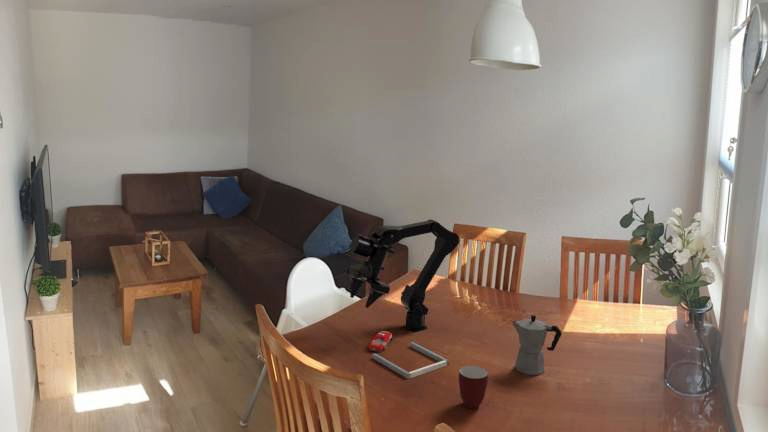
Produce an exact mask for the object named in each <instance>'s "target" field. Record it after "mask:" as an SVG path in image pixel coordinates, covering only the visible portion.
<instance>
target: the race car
mask: <svg viewBox="0 0 768 432" xmlns="http://www.w3.org/2000/svg"><path fill="white" fill-rule="evenodd" d="M392 341H393V334H392V333H391V331H386V330H383V331H382V330H381V331H378V332H377V334H375V336H374V337H372V338H371V341H370V342H369V344H368V350H369V351H371V352H375V353H380V352H384V351H385V349H386V348H388V346H389V345H390V344H391V343H392Z"/></svg>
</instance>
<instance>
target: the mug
mask: <svg viewBox="0 0 768 432" xmlns="http://www.w3.org/2000/svg"><path fill="white" fill-rule="evenodd" d="M488 384H489V371H488V370H487V369H485V368H483V367H481V366H478V365H477V366H476V365H466V366H462V367H461V368H459V370H458V386H459V393H460V398H461V400H462V403H463V404H464V405H465V407H467V408H469V409H478V408H479V407H480V406H481V404H482V403H483V401H484V398H485V395H486V391H487V387H488Z"/></svg>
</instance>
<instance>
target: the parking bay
mask: <svg viewBox="0 0 768 432" xmlns="http://www.w3.org/2000/svg"><path fill="white" fill-rule="evenodd" d="M409 346H410V348H412V349H413V350H415V351H418V352H420V353H422V354H424V355H425V356H428V357H429V358H431V359H433V360H435V361H437V362H434V363H432V364H429V365H426V366H424V367H421V368H417V369H415V370H412V371H408V370H406V369H404V368H402V367H400V366H398V365H396V364H395V363H393V362H391V361H390V360H387V359H385V358H384V357H383V356H381V355H380V354H378V353H377V352H375V353H372V359H373V360H375V361H377V362H378V363H380V364H382V365H384V366H385V367H387V368H389V369H390V370H392V371H394V372H396V373H397V374H399V375H400V376H402V377H404V378H406V379H407V380H409V379H413V378H415V377H418V376H421V375H424V374H427V373H430V372H433V371H435V370H438V369H442V368H445V367H446V366H449V365H450V360H449V359H447V358H445V357H443V356H441V355H440V354H437V353H435V352H434V351H432V350H430V349H427V348H425V347H423V346H422V345H420V344H418V343H416V342H413V341H412V342H411V341H410V345H409Z"/></svg>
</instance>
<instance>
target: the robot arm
mask: <svg viewBox="0 0 768 432" xmlns="http://www.w3.org/2000/svg"><path fill="white" fill-rule="evenodd" d="M431 233H432V235H434V236H435V237H436V238H435V240H434V248H433V251H432V253H431V254H430V256H429V258H428V260H426V262H425V264H424V266H423V268H422V270H421V271H420V273H419V275H418V276H417V278H416V280H415V281H414V283H412V284H411V285H409V284H406V285H405V287H404V288H403V291H402V292H401V293H400V295H401V296H400V303H401V304H402V305H403V306H404V309H405V310H407V311H406V316H405V324H403V327H404V328H405V329H407V330H410V331H412V332H413V333H417V332H419V331H423V330H427V329H428V326H427V325H425V324H426V315H428V312H429V308H427V307H426V305H425V304H424V302H425V300H426V293H427V292H426V291H427V288H428V287H429V285H430V283H431V282H432V281H433V279H434V276H436V273H437V272H438V270H439V269H440V268H441V265H442V263H443V262H444V260H445V259H446V257H447V256H448V255H450V254H452V253H453V252H454V251H455V250H456V248H458V246H459V244H460V241H461V240H460V236H459V234H457V233H456V232H453V231H452V230H450V229H447V228H446V227H445V226H443V225H442V224H441V223H440V222H439V221H437V220H434V219H433V218H432V219H431V218H430V219H428V220H425V221H424V220H423V221H420V222H414V223H409V224H405V225H399V226H398V225H381V226H378V228H377V229H376V231H374V232H373V233H372V234H371V235H369V236H368V237H366V236H363V235H362V234H359V233H357V234H356V236H355V237H354V238H353V239H352V241H351V242H350V244H349V253H351V254H354V255H357V256H359V257H363V258H367V259H364V260H363V262H362V263H360V264H359V263H357V264H350V265H349V267H347V270H346V274H347V277H348V278H349V279H350V295H349V298H350V299H351V298H352V299H353V298H354V297H355V295H357V293H358V291H359V290H360V288H361V286H362V285H363V283H364V282H365V283H368V284H370V287H368V291H369V294H368V297H367V299H366V301H365V308H366V309H368V308H369V307H370V306H371V305H373V304H374V303H375V302H376V301H377V300H378V299H380V298H381V297H382V296H386V294H387V295H388V294H389V293H390V290H391V287H390V285H388V284H387V283H385V282H383V281H380V280H381V278H379V275H380V273H381V271H384V270H385V267H384V263H385V261H386V258H387V256H388V253H389V254H392V255H393V254H395V251H394V249H393V246H392V245H395V244H397V243H399V242H400V241H402V240H404V239H407V238H412V237H416V236H420V235H425V234H431Z"/></svg>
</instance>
